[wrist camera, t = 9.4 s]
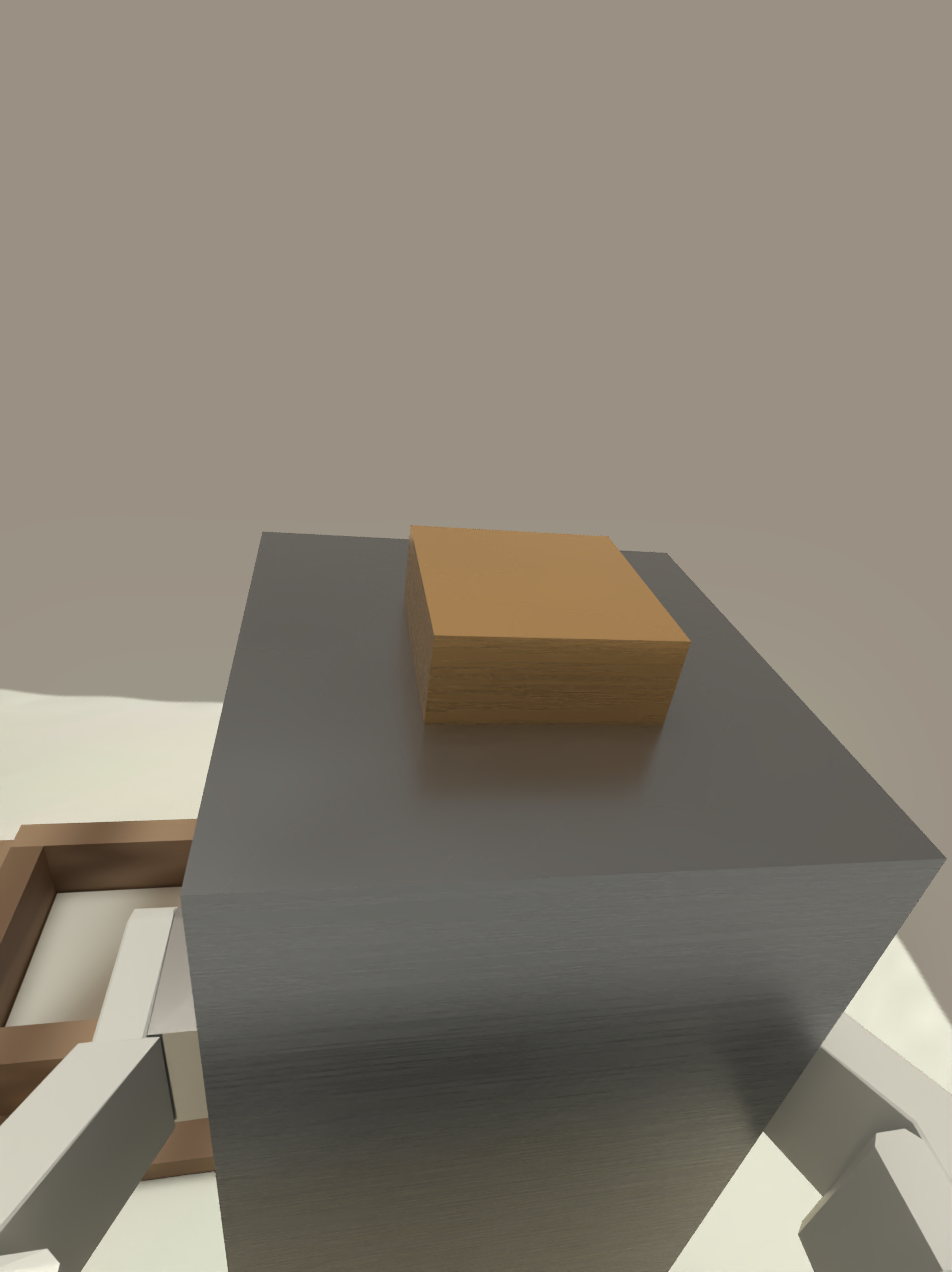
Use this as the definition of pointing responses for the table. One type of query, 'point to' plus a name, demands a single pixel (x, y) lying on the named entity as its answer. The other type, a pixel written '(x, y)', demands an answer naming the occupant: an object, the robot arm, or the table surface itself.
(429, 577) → the battery cell
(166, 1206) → the table surface
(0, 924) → the walnut cell rack
